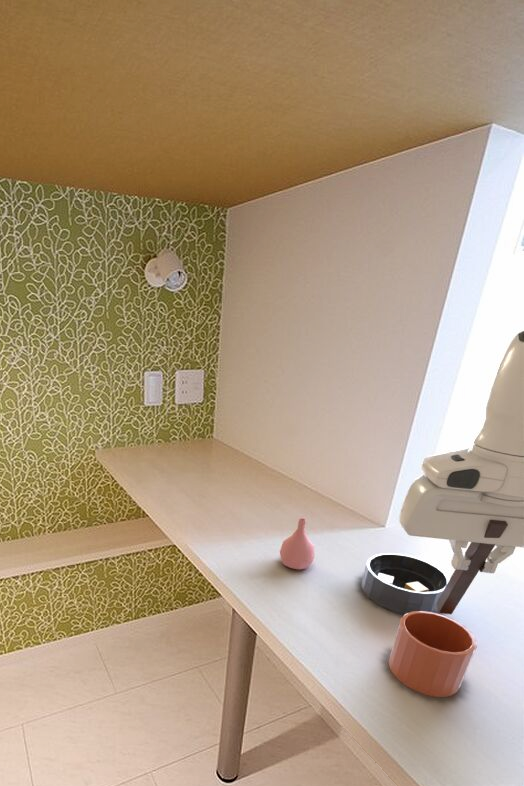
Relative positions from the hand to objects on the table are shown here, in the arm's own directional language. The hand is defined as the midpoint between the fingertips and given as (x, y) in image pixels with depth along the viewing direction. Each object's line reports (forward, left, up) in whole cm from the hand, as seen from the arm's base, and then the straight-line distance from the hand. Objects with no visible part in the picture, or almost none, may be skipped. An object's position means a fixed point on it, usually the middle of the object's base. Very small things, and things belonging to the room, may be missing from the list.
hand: (471, 569), depth 58 cm
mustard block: (-4, -25, -21) cm, 33 cm away
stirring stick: (0, -4, -9) cm, 10 cm away
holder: (0, -3, -22) cm, 22 cm away
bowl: (-2, -26, -22) cm, 34 cm away
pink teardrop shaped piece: (+19, -33, -22) cm, 44 cm away
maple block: (+2, -26, -21) cm, 34 cm away
